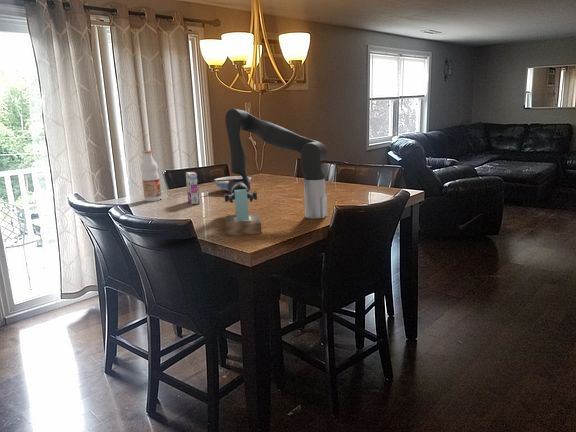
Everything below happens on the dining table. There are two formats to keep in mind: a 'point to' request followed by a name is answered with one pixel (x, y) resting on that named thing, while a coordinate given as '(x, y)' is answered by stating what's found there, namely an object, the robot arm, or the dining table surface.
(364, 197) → the dining table surface
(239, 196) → the column
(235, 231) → the plinth
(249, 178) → the ramen bowl
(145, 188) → the fruit juice
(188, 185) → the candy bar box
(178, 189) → the dining table surface
